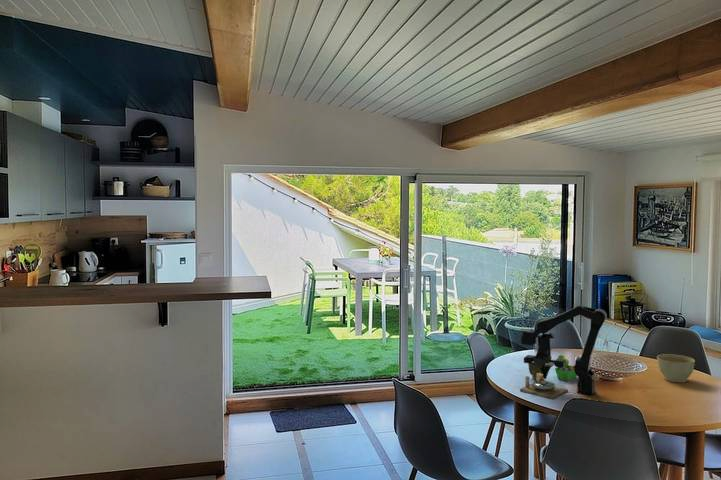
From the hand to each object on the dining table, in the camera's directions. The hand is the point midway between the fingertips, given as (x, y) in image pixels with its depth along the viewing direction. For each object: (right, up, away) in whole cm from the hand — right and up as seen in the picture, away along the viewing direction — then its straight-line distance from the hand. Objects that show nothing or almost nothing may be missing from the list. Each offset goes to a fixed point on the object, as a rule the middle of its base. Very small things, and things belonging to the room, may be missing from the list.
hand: (545, 378), depth 255 cm
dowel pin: (-10, -4, -3) cm, 11 cm away
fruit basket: (+15, -3, +14) cm, 21 cm away
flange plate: (-3, -1, -5) cm, 6 cm away
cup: (0, -3, +13) cm, 13 cm away
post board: (-3, -4, -7) cm, 9 cm away
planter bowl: (+68, -3, +9) cm, 68 cm away
